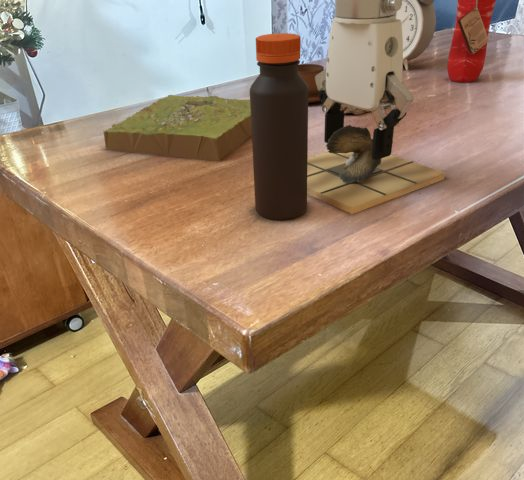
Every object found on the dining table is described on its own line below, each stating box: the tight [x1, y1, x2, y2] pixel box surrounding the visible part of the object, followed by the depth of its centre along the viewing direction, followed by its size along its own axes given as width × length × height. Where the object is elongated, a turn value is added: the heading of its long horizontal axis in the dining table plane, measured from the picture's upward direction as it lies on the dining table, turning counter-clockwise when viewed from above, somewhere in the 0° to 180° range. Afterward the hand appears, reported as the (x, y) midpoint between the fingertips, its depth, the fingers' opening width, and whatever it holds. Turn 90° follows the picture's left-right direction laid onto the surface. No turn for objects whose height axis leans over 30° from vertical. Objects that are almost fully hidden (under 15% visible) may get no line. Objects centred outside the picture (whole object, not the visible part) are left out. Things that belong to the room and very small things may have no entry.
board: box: [307, 150, 446, 215], centre depth 79 cm, size 18×18×1 cm
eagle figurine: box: [325, 124, 394, 183], centre depth 76 cm, size 8×7×9 cm
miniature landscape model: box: [103, 94, 252, 162], centre depth 97 cm, size 22×24×5 cm
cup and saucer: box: [297, 63, 325, 104], centre depth 112 cm, size 12×12×6 cm
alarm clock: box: [396, 0, 437, 71], centre depth 130 cm, size 16×9×22 cm, turn 49°
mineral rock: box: [340, 105, 370, 116], centre depth 107 cm, size 11×4×8 cm
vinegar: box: [249, 32, 309, 221], centre depth 65 cm, size 7×7×20 cm
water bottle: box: [446, 0, 497, 83], centre depth 114 cm, size 12×8×25 cm, turn 159°
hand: (356, 148), depth 76 cm, fingers open, 9 cm apart
